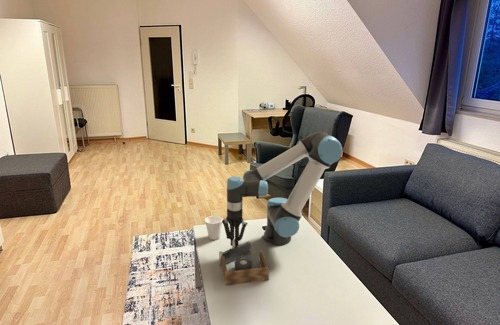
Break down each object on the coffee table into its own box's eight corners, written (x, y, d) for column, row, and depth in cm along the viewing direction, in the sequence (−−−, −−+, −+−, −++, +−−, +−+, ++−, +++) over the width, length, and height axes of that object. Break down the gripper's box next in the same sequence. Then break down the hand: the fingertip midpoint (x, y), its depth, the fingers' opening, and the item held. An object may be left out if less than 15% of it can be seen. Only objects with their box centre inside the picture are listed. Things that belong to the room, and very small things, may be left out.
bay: (261, 262, 168) (261, 251, 167) (268, 279, 155) (268, 268, 153) (221, 266, 165) (221, 255, 163) (225, 285, 152) (225, 273, 150)
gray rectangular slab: (248, 251, 177) (248, 239, 175) (250, 252, 176) (250, 240, 174) (218, 264, 166) (218, 252, 164) (220, 266, 165) (220, 253, 163)
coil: (250, 263, 168) (250, 256, 167) (253, 273, 160) (253, 266, 159) (234, 265, 166) (233, 258, 165) (236, 275, 159) (236, 268, 158)
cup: (224, 233, 196) (224, 215, 193) (221, 242, 187) (221, 224, 184) (207, 232, 197) (206, 215, 194) (203, 241, 188) (202, 223, 184)
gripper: (219, 209, 165) (219, 252, 172) (244, 213, 161) (243, 257, 168) (225, 203, 172) (225, 245, 179) (249, 207, 168) (249, 250, 175)
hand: (234, 251), depth 173 cm, fingers closed
